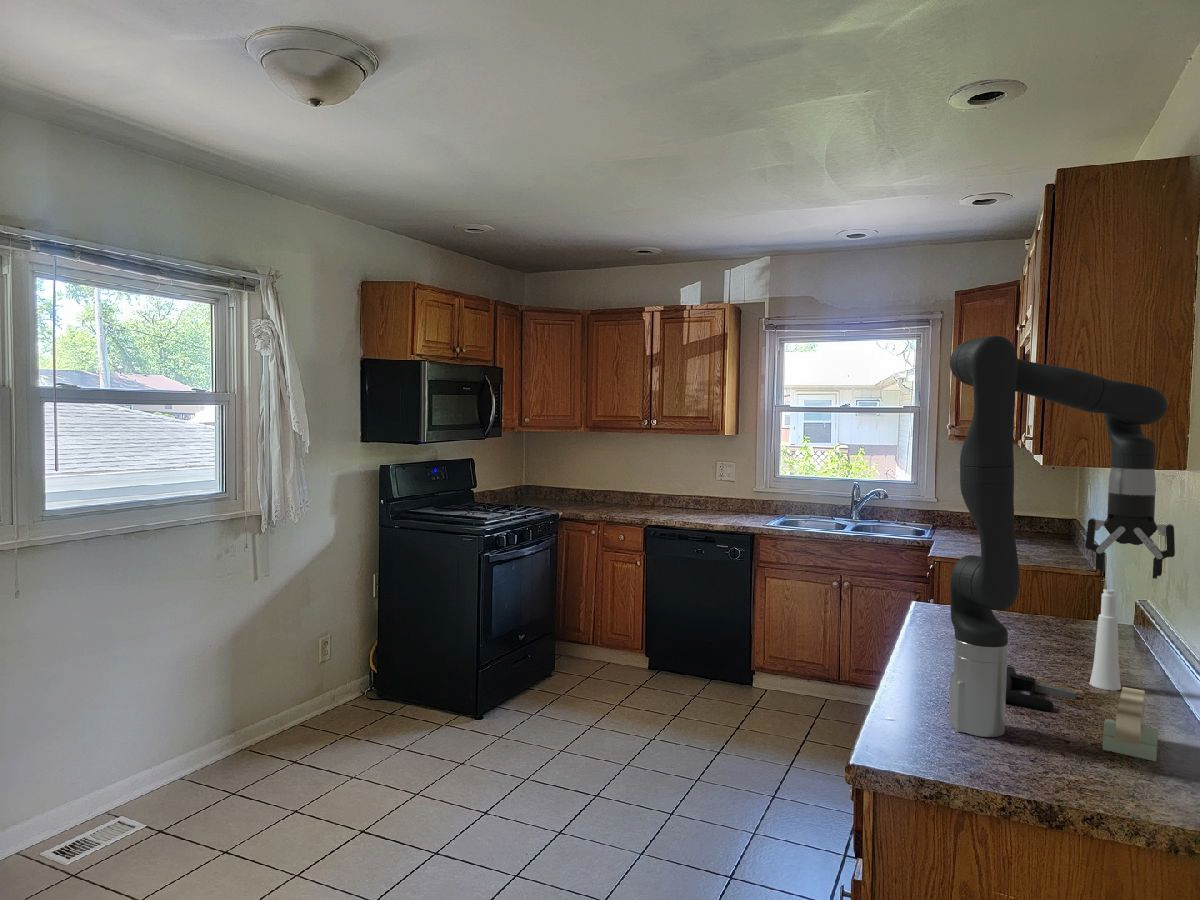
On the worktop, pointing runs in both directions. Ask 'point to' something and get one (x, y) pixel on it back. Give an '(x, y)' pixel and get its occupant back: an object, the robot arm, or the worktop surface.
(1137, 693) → the bar
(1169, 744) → the worktop surface
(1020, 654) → the worktop surface
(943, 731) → the worktop surface
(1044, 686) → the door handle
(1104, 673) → the cosmetic bottle
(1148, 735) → the ridge
